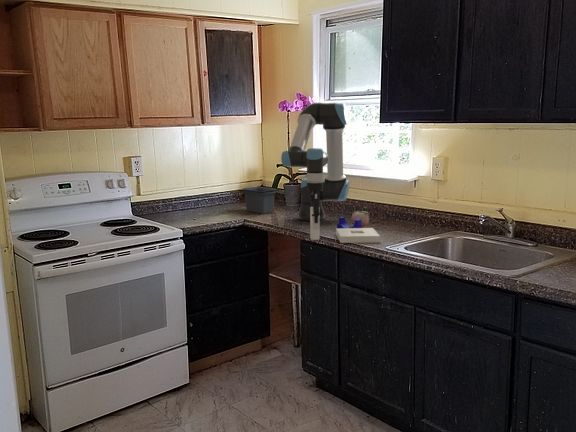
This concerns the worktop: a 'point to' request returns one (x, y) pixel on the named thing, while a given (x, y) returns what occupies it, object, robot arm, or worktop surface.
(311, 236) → the tube
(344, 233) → the socket block
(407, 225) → the worktop surface
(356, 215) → the decorative fruit
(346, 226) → the blue shoe
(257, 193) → the storage bin
